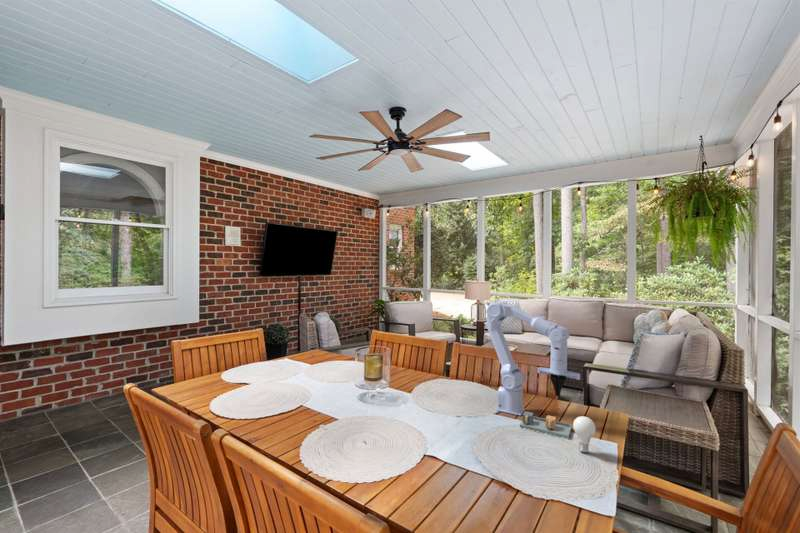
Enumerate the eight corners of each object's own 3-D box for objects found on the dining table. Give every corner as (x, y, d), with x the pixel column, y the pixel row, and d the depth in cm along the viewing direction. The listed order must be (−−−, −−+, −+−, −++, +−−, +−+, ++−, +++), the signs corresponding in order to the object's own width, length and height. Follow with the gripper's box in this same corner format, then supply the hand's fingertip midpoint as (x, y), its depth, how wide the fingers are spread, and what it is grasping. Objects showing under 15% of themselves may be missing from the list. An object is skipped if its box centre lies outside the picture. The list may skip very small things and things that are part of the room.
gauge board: (519, 427, 131) (520, 416, 131) (525, 418, 139) (525, 407, 139) (568, 439, 123) (568, 426, 123) (571, 428, 131) (571, 416, 131)
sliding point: (544, 428, 127) (545, 419, 127) (547, 423, 131) (547, 415, 131) (554, 430, 126) (554, 421, 126) (555, 425, 130) (556, 417, 130)
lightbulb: (593, 449, 116) (593, 414, 116) (596, 458, 110) (597, 422, 110) (571, 445, 118) (572, 411, 118) (573, 454, 112) (574, 419, 112)
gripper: (536, 358, 136) (535, 394, 136) (579, 364, 129) (578, 402, 128) (539, 354, 142) (538, 389, 142) (580, 360, 135) (580, 396, 134)
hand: (557, 395), depth 136 cm, fingers closed
